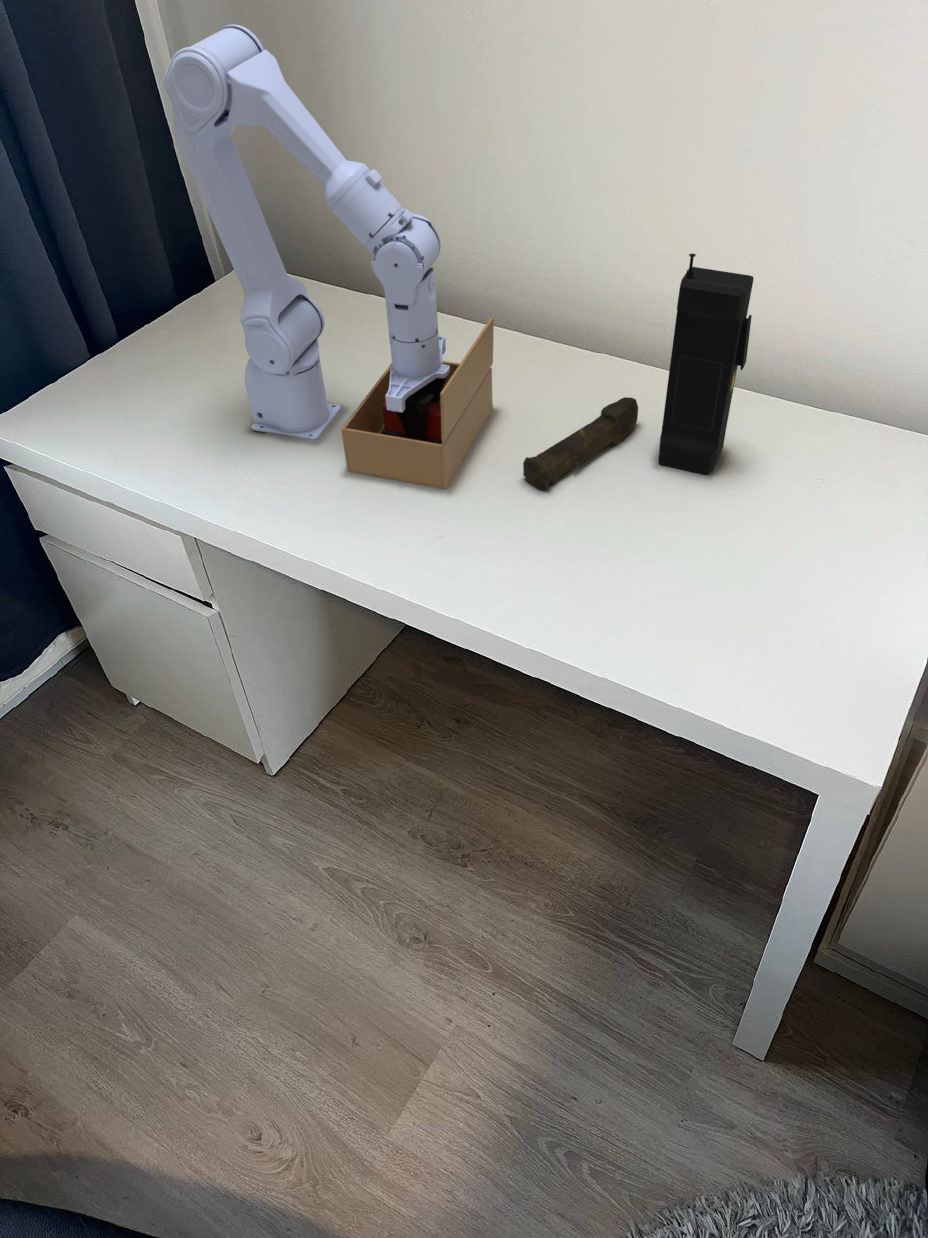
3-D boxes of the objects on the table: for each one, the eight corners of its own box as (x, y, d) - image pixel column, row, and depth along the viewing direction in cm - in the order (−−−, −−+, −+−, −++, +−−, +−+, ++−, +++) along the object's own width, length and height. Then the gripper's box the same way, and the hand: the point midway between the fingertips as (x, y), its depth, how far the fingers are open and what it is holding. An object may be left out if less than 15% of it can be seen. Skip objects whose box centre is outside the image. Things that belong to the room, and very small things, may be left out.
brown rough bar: (544, 496, 110) (545, 464, 107) (521, 481, 112) (521, 449, 109) (652, 433, 118) (656, 400, 115) (628, 420, 120) (632, 388, 117)
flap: (491, 316, 114) (493, 317, 113) (490, 363, 118) (492, 363, 118) (440, 393, 102) (443, 393, 102) (441, 441, 106) (444, 441, 106)
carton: (402, 397, 126) (398, 354, 122) (492, 411, 123) (491, 367, 118) (347, 473, 115) (340, 429, 110) (446, 491, 111) (443, 446, 107)
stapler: (381, 439, 119) (377, 406, 115) (390, 426, 121) (386, 393, 117) (455, 451, 116) (454, 418, 113) (464, 438, 118) (462, 405, 115)
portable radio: (731, 450, 115) (770, 249, 97) (719, 478, 111) (757, 273, 93) (668, 437, 117) (695, 238, 100) (654, 463, 114) (680, 261, 96)
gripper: (423, 366, 102) (431, 469, 112) (467, 305, 112) (471, 404, 121) (363, 358, 104) (376, 459, 114) (411, 298, 114) (420, 396, 123)
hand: (421, 430), depth 118 cm, fingers open, 3 cm apart
